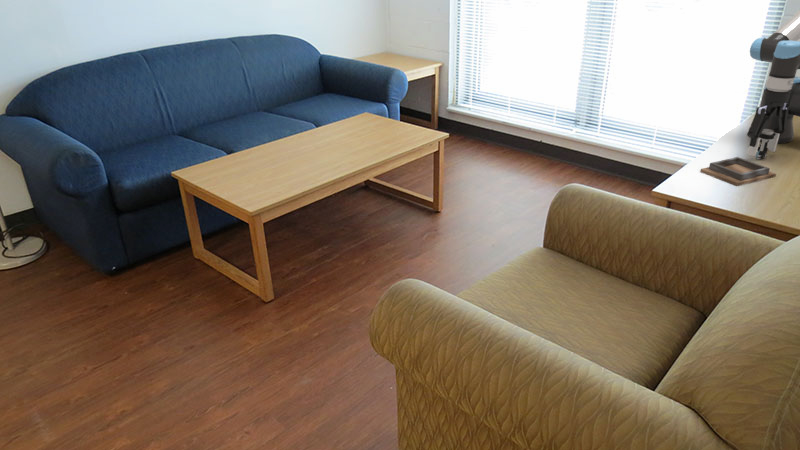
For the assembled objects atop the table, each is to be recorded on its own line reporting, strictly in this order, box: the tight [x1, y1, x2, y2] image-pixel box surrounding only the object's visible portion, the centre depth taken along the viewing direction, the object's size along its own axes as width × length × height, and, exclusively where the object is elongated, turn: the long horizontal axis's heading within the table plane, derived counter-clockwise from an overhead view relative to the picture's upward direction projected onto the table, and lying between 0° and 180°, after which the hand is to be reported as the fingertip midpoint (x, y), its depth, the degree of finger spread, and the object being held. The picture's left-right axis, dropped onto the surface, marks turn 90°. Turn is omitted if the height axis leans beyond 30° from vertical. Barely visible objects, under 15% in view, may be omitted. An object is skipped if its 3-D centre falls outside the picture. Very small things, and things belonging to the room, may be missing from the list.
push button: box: [754, 129, 776, 160], centre depth 208 cm, size 7×5×10 cm
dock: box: [699, 156, 777, 187], centre depth 197 cm, size 18×14×3 cm
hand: (761, 152), depth 209 cm, fingers open, 9 cm apart
